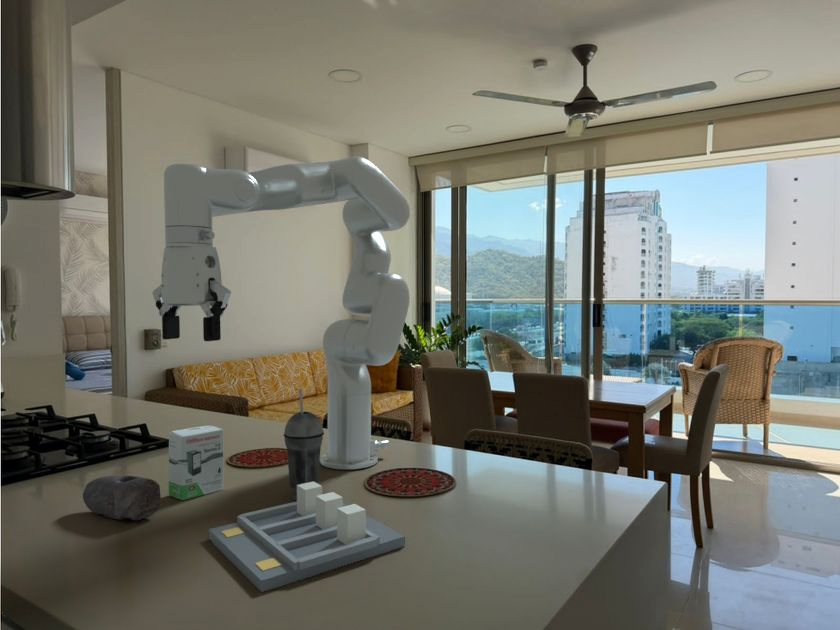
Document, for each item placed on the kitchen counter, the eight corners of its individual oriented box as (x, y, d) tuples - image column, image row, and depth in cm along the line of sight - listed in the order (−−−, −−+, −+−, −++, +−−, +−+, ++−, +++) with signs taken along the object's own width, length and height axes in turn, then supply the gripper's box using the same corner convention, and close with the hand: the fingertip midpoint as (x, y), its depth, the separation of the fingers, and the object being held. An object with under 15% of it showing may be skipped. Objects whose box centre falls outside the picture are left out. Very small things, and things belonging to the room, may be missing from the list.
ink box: (181, 501, 104) (180, 436, 103) (167, 495, 107) (167, 431, 107) (224, 489, 110) (224, 427, 110) (210, 484, 114) (210, 424, 113)
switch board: (335, 506, 102) (335, 492, 102) (406, 547, 85) (406, 530, 85) (208, 538, 88) (208, 521, 88) (262, 593, 72) (262, 573, 72)
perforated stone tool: (71, 515, 97) (71, 474, 97) (99, 505, 102) (99, 465, 102) (138, 529, 92) (138, 485, 91) (164, 517, 97) (164, 476, 96)
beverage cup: (331, 492, 109) (331, 386, 108) (311, 505, 102) (311, 392, 102) (297, 487, 111) (296, 384, 111) (275, 500, 105) (275, 389, 104)
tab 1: (313, 508, 96) (313, 481, 96) (322, 513, 94) (322, 486, 94) (296, 512, 94) (296, 484, 94) (305, 518, 92) (305, 489, 92)
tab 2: (333, 520, 91) (333, 491, 91) (342, 526, 89) (342, 497, 89) (315, 524, 89) (315, 495, 89) (325, 531, 87) (325, 501, 87)
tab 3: (354, 533, 86) (354, 503, 86) (365, 540, 84) (365, 509, 84) (336, 538, 84) (336, 508, 84) (347, 546, 82) (347, 514, 82)
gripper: (243, 238, 98) (245, 339, 99) (171, 243, 106) (173, 336, 107) (209, 235, 92) (211, 343, 92) (135, 239, 99) (137, 339, 100)
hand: (191, 339), depth 100 cm, fingers open, 9 cm apart
